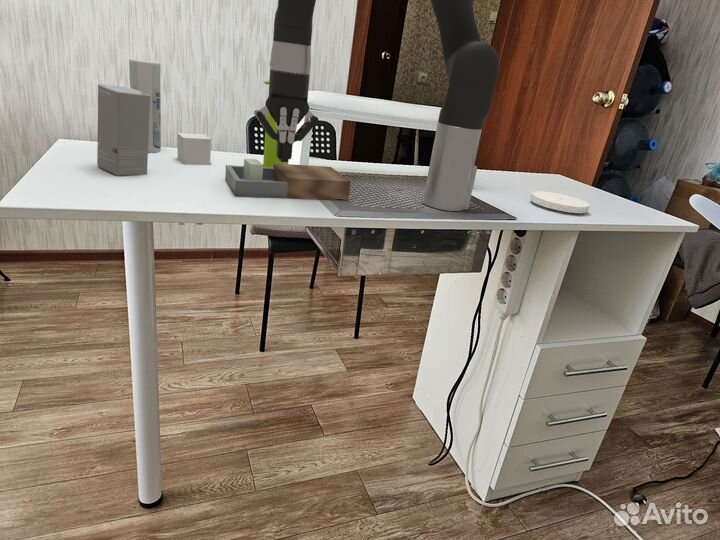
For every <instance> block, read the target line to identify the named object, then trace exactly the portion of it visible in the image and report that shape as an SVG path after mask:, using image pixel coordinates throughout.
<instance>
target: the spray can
mask: <svg viewBox="0 0 720 540" xmlns="http://www.w3.org/2000/svg"><path fill="white" fill-rule="evenodd" d="M128 62H129V63H128V64H129V88H132V89H134V90H138V91H141V92H143V93H145V94H148V95H150V112H149V136H148V154H149V153H150V154H153V153H160V152H161V151H162V150H161V149H162V146H161V143H162V140H161V138H162V137H161V135H162V133H161V129H162V127H161V124H162V123H161V121H162V119H161V117H162V115H161V113H162V112H161V107H162V106H161V63H160V62H156V61H151V60H143V59H135V58H130V59H128Z"/></svg>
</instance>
